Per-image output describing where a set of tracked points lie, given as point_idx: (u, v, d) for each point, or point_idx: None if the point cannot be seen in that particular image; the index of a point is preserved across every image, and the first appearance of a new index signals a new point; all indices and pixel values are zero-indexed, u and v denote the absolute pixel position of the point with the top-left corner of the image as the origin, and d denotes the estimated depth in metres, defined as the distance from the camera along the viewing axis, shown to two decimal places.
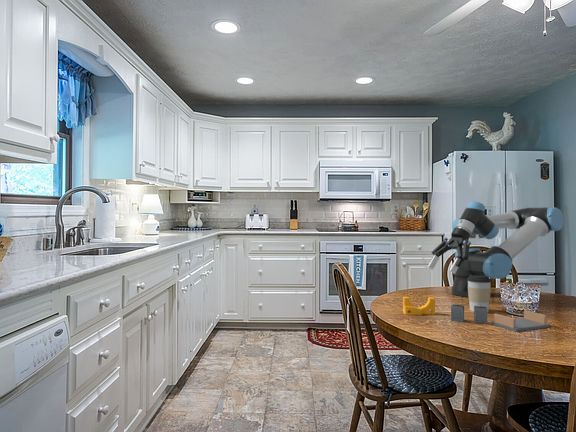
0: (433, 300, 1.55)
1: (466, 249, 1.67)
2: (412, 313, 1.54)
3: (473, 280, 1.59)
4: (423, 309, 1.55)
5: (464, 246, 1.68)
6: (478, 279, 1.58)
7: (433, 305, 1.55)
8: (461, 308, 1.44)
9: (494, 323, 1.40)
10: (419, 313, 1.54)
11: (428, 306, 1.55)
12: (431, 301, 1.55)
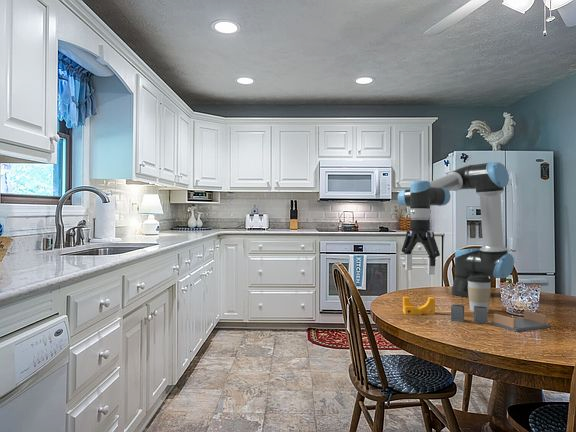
0: (433, 300, 1.55)
1: (432, 245, 1.48)
2: (412, 313, 1.54)
3: (473, 280, 1.59)
4: (423, 309, 1.56)
5: (429, 241, 1.49)
6: (478, 279, 1.58)
7: (433, 305, 1.55)
8: (461, 308, 1.44)
9: (494, 323, 1.40)
10: (419, 313, 1.54)
11: (428, 306, 1.56)
12: (431, 301, 1.56)
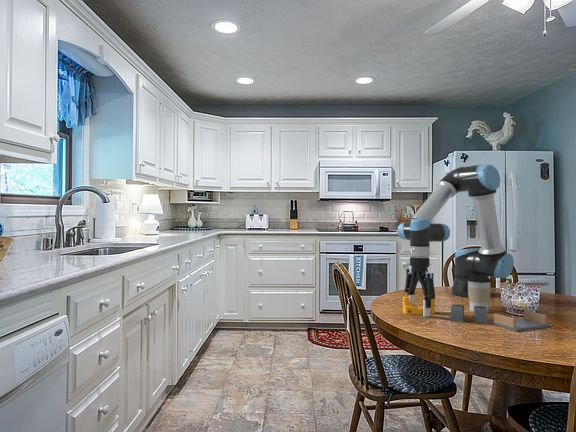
0: (433, 300, 1.56)
1: (429, 288, 1.49)
2: (412, 313, 1.54)
3: (473, 280, 1.59)
4: None
5: (427, 283, 1.49)
6: (478, 279, 1.58)
7: (433, 305, 1.56)
8: (461, 308, 1.44)
9: (494, 323, 1.40)
10: (419, 313, 1.54)
11: None
12: (431, 301, 1.56)
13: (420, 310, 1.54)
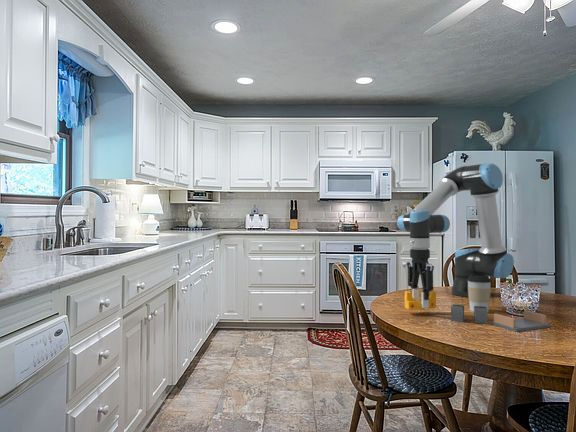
0: (434, 294, 1.56)
1: (428, 280, 1.50)
2: (415, 307, 1.53)
3: (473, 280, 1.59)
4: None
5: (426, 275, 1.50)
6: (478, 279, 1.58)
7: (434, 299, 1.56)
8: (461, 308, 1.44)
9: (494, 323, 1.40)
10: None
11: (429, 300, 1.55)
12: (432, 295, 1.56)
13: None
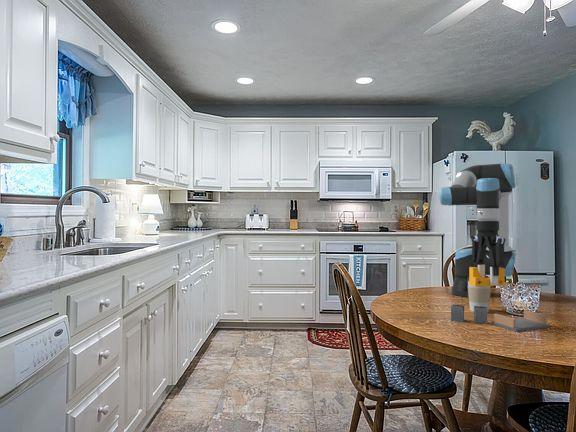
0: (503, 270, 1.42)
1: (499, 254, 1.37)
2: (483, 284, 1.40)
3: None
4: None
5: (497, 248, 1.37)
6: None
7: (503, 275, 1.42)
8: (461, 308, 1.44)
9: (494, 323, 1.40)
10: None
11: None
12: (501, 271, 1.42)
13: None
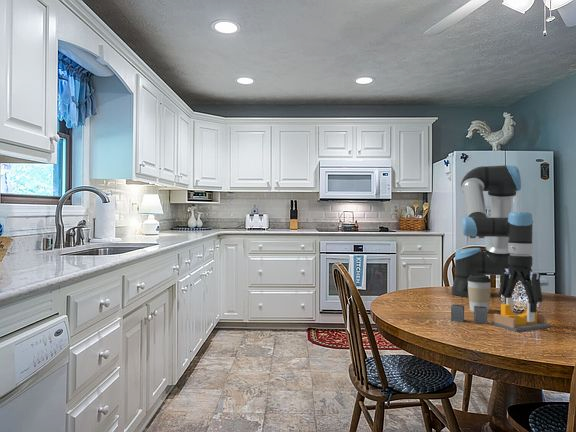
0: None
1: (536, 290, 1.32)
2: (516, 322, 1.37)
3: (473, 280, 1.59)
4: (525, 317, 1.39)
5: (533, 284, 1.33)
6: (478, 279, 1.58)
7: (535, 312, 1.39)
8: (461, 308, 1.44)
9: (494, 323, 1.40)
10: (523, 322, 1.37)
11: None
12: None
13: (524, 319, 1.37)
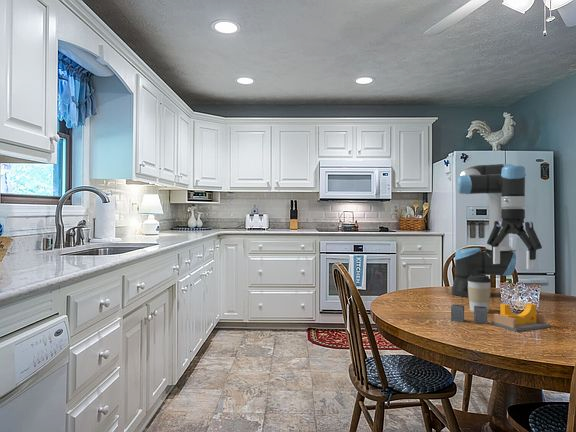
0: (534, 306, 1.39)
1: (533, 237, 1.33)
2: None
3: (473, 280, 1.59)
4: None
5: (528, 232, 1.34)
6: (478, 279, 1.58)
7: (534, 312, 1.39)
8: (461, 308, 1.44)
9: (494, 323, 1.40)
10: (522, 322, 1.37)
11: (529, 313, 1.39)
12: (532, 308, 1.39)
13: (523, 319, 1.37)
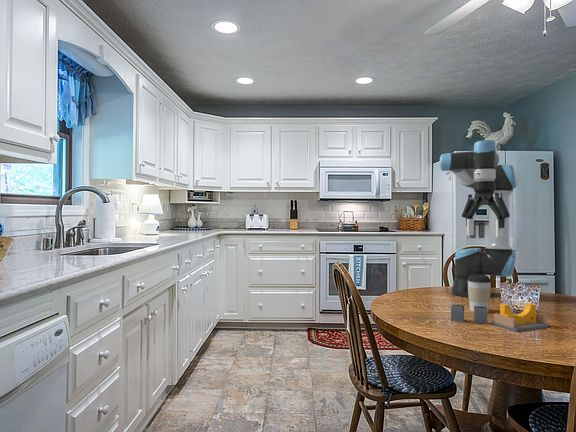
0: (534, 306, 1.39)
1: (501, 206, 1.41)
2: None
3: (473, 280, 1.59)
4: None
5: (497, 202, 1.42)
6: (478, 279, 1.58)
7: (534, 312, 1.39)
8: (461, 308, 1.44)
9: (494, 323, 1.40)
10: (522, 322, 1.37)
11: (529, 313, 1.39)
12: (532, 308, 1.39)
13: (523, 319, 1.37)
